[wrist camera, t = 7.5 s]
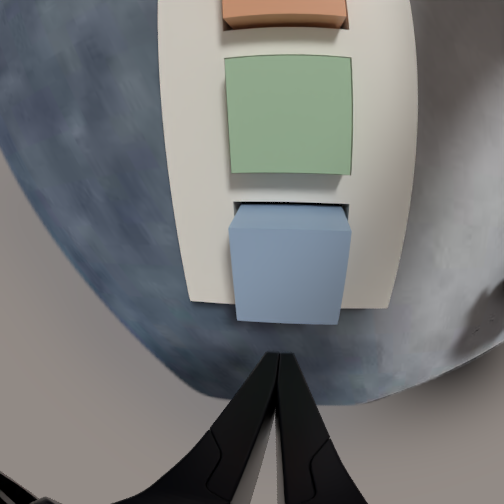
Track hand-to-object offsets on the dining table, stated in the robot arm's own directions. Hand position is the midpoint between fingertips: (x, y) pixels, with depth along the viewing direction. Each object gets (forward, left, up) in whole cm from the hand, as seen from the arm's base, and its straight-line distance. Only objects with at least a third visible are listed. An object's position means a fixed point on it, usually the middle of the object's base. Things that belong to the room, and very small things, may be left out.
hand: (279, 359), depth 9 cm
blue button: (0, 0, -7) cm, 7 cm away
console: (0, -7, -9) cm, 11 cm away
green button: (0, -7, -9) cm, 11 cm away
